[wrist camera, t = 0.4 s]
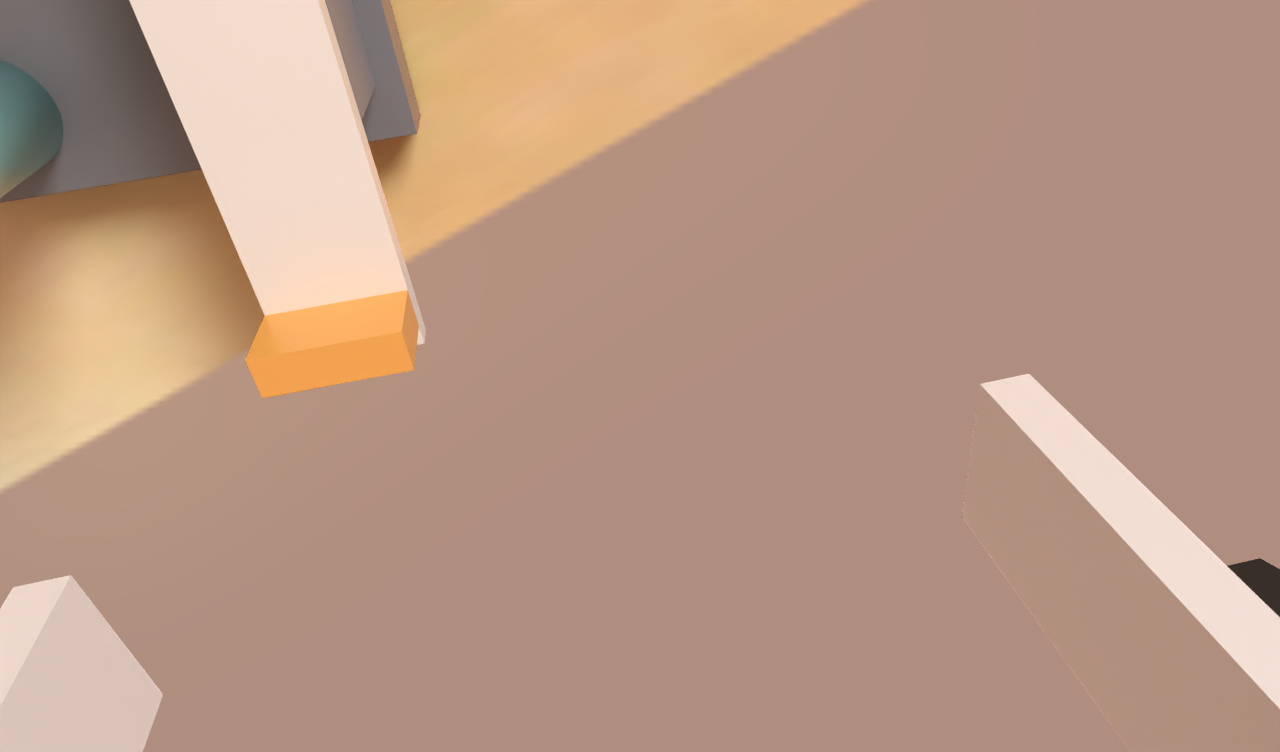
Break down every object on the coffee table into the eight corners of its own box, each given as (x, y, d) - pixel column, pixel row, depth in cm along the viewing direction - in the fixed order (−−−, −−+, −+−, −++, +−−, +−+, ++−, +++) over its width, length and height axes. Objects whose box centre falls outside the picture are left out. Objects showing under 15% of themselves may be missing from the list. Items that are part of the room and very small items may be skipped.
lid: (81, -149, 22) (10, -148, 18) (271, -174, 22) (236, -177, 19) (292, 354, 31) (270, 416, 27) (425, 329, 31) (419, 388, 28)
